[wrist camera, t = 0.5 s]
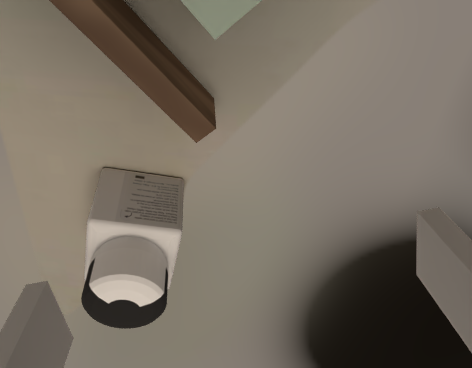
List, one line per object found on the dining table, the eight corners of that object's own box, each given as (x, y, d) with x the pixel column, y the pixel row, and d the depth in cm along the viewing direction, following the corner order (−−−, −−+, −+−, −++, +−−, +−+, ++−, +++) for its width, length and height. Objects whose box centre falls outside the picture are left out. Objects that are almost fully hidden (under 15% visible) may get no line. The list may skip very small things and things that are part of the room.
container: (172, 234, 48) (166, 342, 37) (98, 225, 46) (70, 336, 36) (184, 177, 43) (181, 283, 33) (102, 165, 42) (71, 272, 31)
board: (35, -95, 29) (10, -84, 25) (213, 98, 38) (216, 128, 34) (16, -73, 29) (-12, -59, 26) (196, 111, 39) (196, 142, 35)
